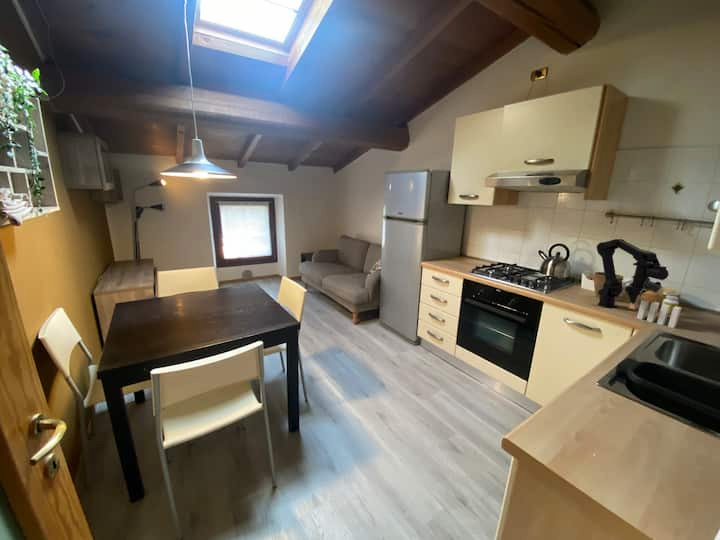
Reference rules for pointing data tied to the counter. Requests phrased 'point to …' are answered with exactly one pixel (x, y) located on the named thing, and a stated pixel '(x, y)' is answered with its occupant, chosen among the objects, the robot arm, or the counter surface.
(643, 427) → the counter surface
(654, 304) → the ivory domino
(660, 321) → the ivory domino
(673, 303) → the pill bottle
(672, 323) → the ivory domino
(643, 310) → the ivory domino
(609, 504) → the counter surface
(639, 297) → the terracotta domino
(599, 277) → the plant pot
